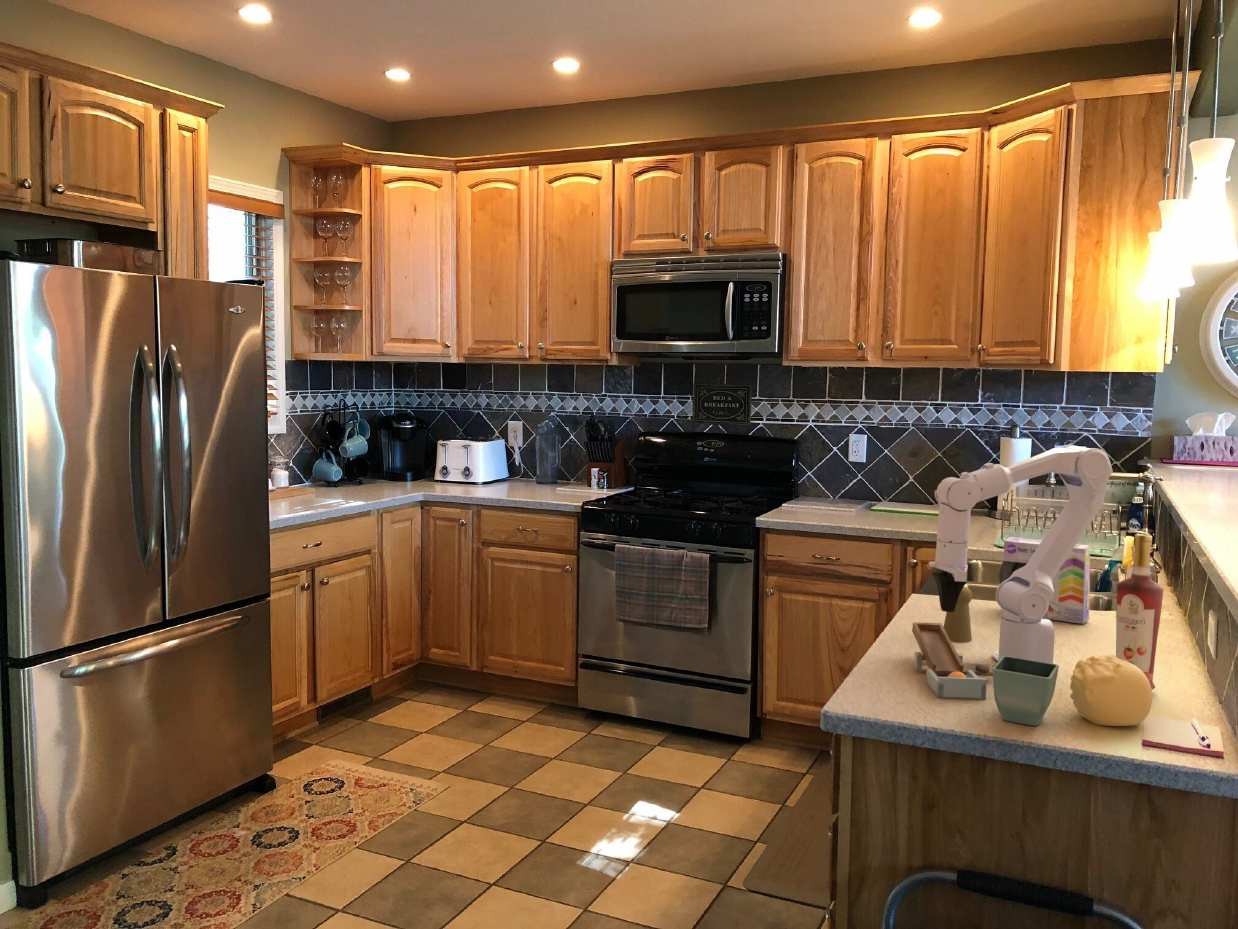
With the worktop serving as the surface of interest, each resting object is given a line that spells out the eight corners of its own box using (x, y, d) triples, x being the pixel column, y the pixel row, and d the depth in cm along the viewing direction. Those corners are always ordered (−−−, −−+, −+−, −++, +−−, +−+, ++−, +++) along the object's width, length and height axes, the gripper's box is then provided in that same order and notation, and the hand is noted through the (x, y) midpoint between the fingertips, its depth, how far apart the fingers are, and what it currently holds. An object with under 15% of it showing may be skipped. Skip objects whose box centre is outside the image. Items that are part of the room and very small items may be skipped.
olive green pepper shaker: (940, 640, 208) (943, 588, 207) (942, 633, 214) (945, 582, 213) (971, 643, 206) (973, 591, 205) (972, 636, 212) (975, 585, 211)
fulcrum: (958, 669, 188) (959, 652, 188) (962, 673, 186) (963, 656, 185) (913, 667, 189) (914, 651, 188) (916, 671, 186) (917, 655, 186)
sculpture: (1063, 705, 169) (1067, 643, 168) (1141, 713, 165) (1146, 650, 164) (1073, 728, 158) (1077, 662, 157) (1157, 738, 155) (1162, 670, 153)
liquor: (1162, 692, 177) (1174, 536, 174) (1146, 700, 172) (1157, 540, 169) (1120, 681, 182) (1130, 530, 179) (1103, 689, 177) (1113, 534, 175)
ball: (963, 686, 176) (965, 668, 176) (969, 695, 173) (971, 677, 172) (943, 685, 177) (945, 667, 176) (948, 695, 173) (950, 676, 172)
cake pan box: (996, 611, 234) (1000, 537, 232) (1003, 608, 238) (1007, 535, 236) (1082, 626, 222) (1087, 548, 220) (1089, 622, 225) (1094, 545, 224)
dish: (970, 683, 180) (971, 664, 179) (985, 699, 171) (986, 679, 171) (926, 682, 180) (926, 663, 180) (938, 697, 172) (939, 678, 171)
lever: (969, 636, 196) (971, 624, 195) (994, 681, 180) (996, 667, 180) (910, 635, 197) (912, 622, 196) (930, 678, 181) (932, 665, 180)
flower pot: (1047, 733, 155) (1050, 678, 155) (988, 722, 160) (991, 668, 159) (1056, 717, 163) (1059, 664, 162) (999, 707, 168) (1002, 655, 167)
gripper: (921, 533, 196) (917, 601, 198) (941, 546, 182) (936, 619, 183) (958, 535, 196) (953, 602, 197) (980, 548, 182) (975, 621, 183)
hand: (947, 611), depth 190 cm, fingers closed
